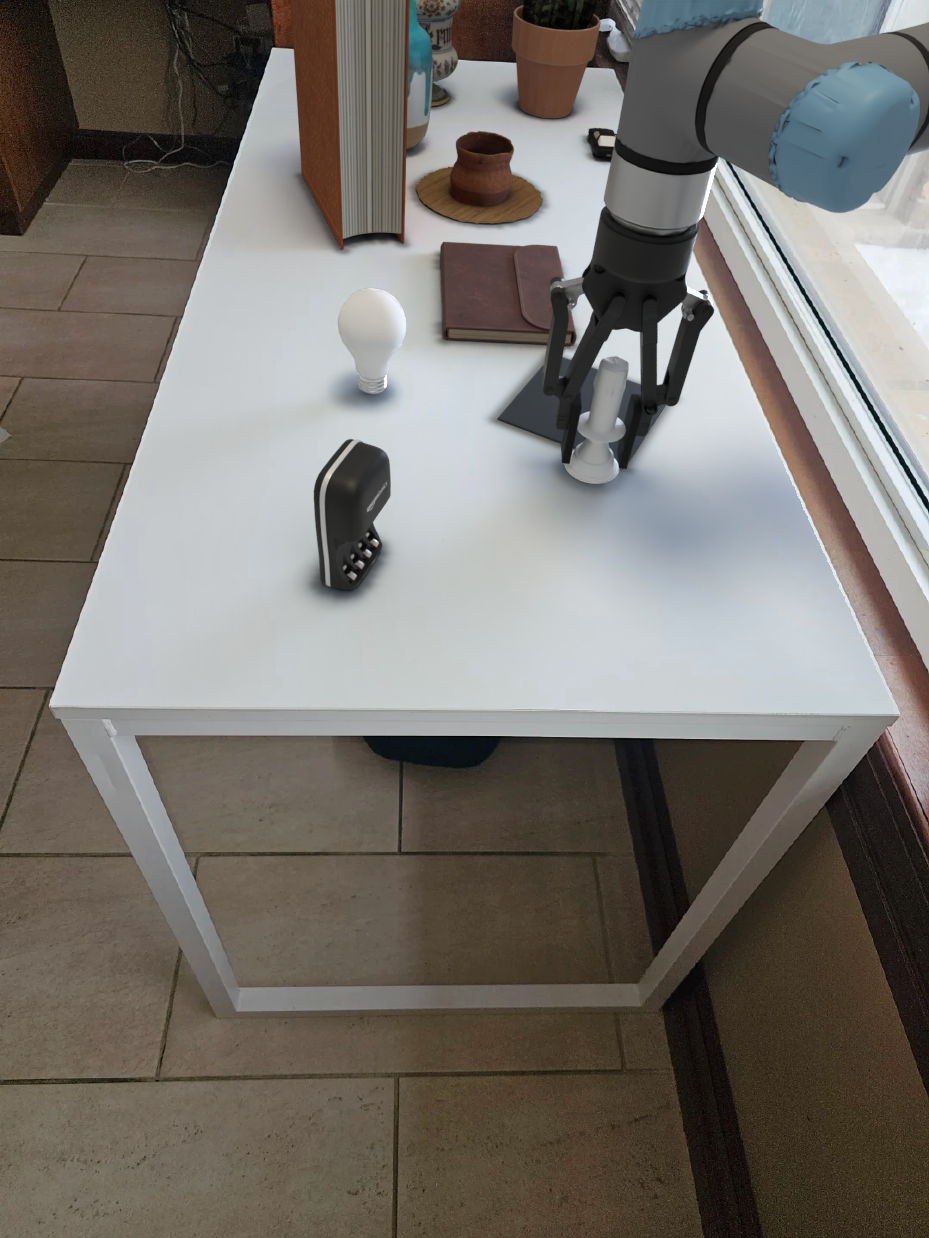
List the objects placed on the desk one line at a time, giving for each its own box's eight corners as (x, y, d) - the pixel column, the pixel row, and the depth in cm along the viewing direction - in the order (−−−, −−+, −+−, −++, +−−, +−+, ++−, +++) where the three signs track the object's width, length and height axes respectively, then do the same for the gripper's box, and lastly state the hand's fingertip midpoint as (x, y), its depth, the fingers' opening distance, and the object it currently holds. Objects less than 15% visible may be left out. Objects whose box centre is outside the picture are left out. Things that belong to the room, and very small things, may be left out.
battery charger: (359, 601, 71) (356, 496, 62) (317, 586, 72) (309, 480, 63) (394, 547, 75) (397, 441, 67) (355, 533, 76) (352, 427, 67)
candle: (556, 474, 83) (578, 364, 74) (573, 443, 86) (596, 334, 77) (610, 491, 82) (638, 382, 73) (625, 459, 85) (654, 351, 76)
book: (404, 243, 111) (410, -44, 88) (341, 250, 108) (332, -44, 86) (356, 168, 124) (351, -99, 101) (299, 172, 122) (282, -100, 99)
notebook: (442, 339, 97) (443, 323, 95) (440, 253, 110) (440, 238, 108) (575, 346, 98) (578, 330, 97) (557, 260, 111) (559, 245, 109)
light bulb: (332, 405, 88) (328, 305, 79) (349, 369, 92) (346, 270, 84) (397, 416, 87) (399, 316, 79) (410, 378, 92) (413, 281, 83)
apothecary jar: (464, 109, 142) (473, -24, 128) (392, 111, 139) (393, -25, 125) (444, 82, 149) (451, -46, 136) (376, 83, 146) (376, -48, 133)
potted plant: (507, 89, 149) (526, -96, 130) (586, 99, 149) (616, -85, 130) (501, 119, 140) (520, -75, 121) (585, 129, 140) (617, -63, 121)
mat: (671, 396, 93) (671, 395, 93) (625, 467, 85) (625, 466, 85) (552, 355, 97) (552, 353, 96) (497, 419, 88) (497, 417, 88)
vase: (396, 126, 135) (398, -22, 121) (444, 149, 131) (452, -2, 116) (344, 142, 130) (339, -11, 115) (392, 167, 125) (394, 11, 111)
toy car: (585, 135, 139) (588, 117, 136) (610, 137, 139) (613, 118, 137) (594, 161, 132) (597, 142, 130) (620, 163, 132) (624, 144, 130)
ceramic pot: (565, 215, 120) (574, 161, 114) (450, 233, 114) (453, 177, 108) (505, 161, 130) (510, 110, 124) (395, 176, 124) (396, 122, 118)
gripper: (758, 202, 68) (680, 440, 86) (533, 180, 67) (501, 425, 85) (777, 247, 63) (690, 490, 81) (534, 225, 63) (500, 474, 80)
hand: (593, 456), depth 83 cm, fingers closed on candle, 5 cm apart
